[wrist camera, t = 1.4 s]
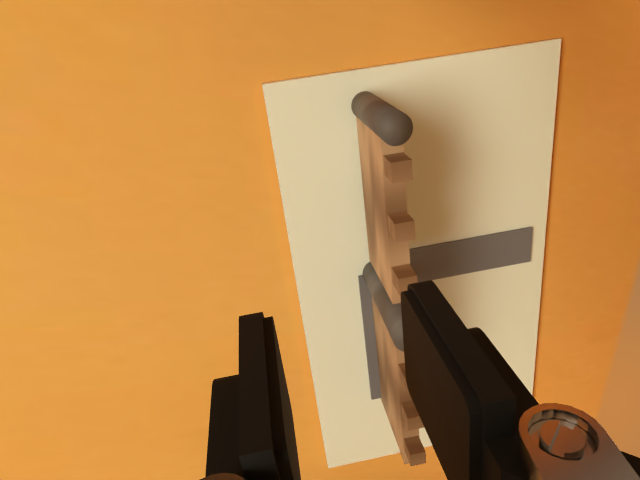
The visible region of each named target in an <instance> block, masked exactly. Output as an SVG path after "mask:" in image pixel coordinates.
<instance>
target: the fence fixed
mask: <svg viewBox="0 0 640 480" xmlns="http://www.w3.org/2000/svg"><path fill="white" fill-rule="evenodd" d="M362 274H363V278H364V280H365V283H366V285H367V287H368V289H369V291H370V293H371V295H372V305H373V316H374V326H375V337H376V347H377V358H378V368H379V379H380V389H381V401H382V403H383V406H384V409H385V412H386V414H387V417H388V420H389V423H390V425H391V428H392V431H393V434H394V436H395V439H396V442H397V445H398V447H399V450H400V453H401V455H402V458H403V461H404V464H408V463H410V466H414V465H418V464H423V463H426V454H425V450H424V447H423V445H422V443H421V440H420V438H419V428H424V425H423V423H422V421H421V419H420V416H419V414H418V412H417V410H416V407H415V405H414V403H413V401H412V398H411V396H410V394H409V391H408V387H407V383H406V374H405V358H404V343H403V328H402V312H401V303H397V304H392V302H391V300H390V298H389V296H388V294H387V292H386V290H385V288H384V286H383V284H382V283H381V281H380V279H379V277H378V275H377V273H376V271H375V269H374V267H373V265H372V263H371V262H368V263H367V264H366V265H365V267H364V269H363V273H362Z"/></svg>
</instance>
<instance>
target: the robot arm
mask: <svg viewBox="0 0 640 480" xmlns="http://www.w3.org/2000/svg"><path fill="white" fill-rule="evenodd" d="M401 312H402V328H403V343H404V358H405V374H406V383H407V387H408V391H409V394H410V396H411V398H412V401H413V403H414V405H415V407H416V410H417V412H418V414H419V416H420V419H421V421H422V423H423V425H424V428H425V430H426V432H427V434H428V437H429V439H430V441H431V443H432V445H433V448H434V450H435V452H436V454H437V457H438V459H439V461H440V463H441V466H442V468H443V470H444V472H445V475H446V477H447V479H448V480H640V458H638V457H636V456H633V455H630V454H627V453H625V452H622V451H620V450H619V449H618V447H617V446H616V445H615V443H614V442H613V441H612V439H611V438H610V437H609V435H608V434H607V432H606V431H605V430H604V428H603V427H602V426H601V425H600V424H599V423H598V422H597V421H596V420H595V419H594V418H593V417H591V416H590V415H588V414H586V413H585V412H583V411H581V410H579V409H576V408H574V407H571V406H568V405H563V404H558V403H544V404H540V405H539V404H538V402H537V401H536V400H535V398H534V397H533V396H532V395H531V393H530V392H529V391H528V389H527V388H526V387H525V385H524V384H523V383H522V381H521V380H520V379H519V378H518V376H517V375H516V374H515V372H514V371H513V370H512V368H511V367H510V366H509V364H508V363H507V362H506V360H505V359H504V358H503V357H502V355H501V354H500V353H499V351H498V350H497V349H496V347H495V346H494V345H493V343H492V342H491V341H490V339H489V338H488V337H487V336H486V334H485V333H484V332H483V331H482V330H481V329H480V328H478V327H474V328H469V329H467V327H466V326H465V325H464V323H463V322H462V321H461V319H460V318H459V316H458V315H457V314H456V312H455V311H454V309H453V308H452V307H451V305H450V304H449V302H448V301H447V300H446V298H445V297H444V296H443V294H442V293H441V291H440V290H439V289H438V287H437V286H436V284H435V283H434V282H433V281H432V280H428V281H423V282H417V283H412V284H409V285H408V287H407V291H402V292H401ZM200 480H301V476H300V469H299V461H298V454H297V446H296V438H295V431H294V423H293V416H292V410H291V404H290V399H289V394H288V389H287V384H286V379H285V374H284V369H283V365H282V360H281V355H280V350H279V345H278V340H277V335H276V330H275V325H274V320H273V317H266V318H264V315H263V312H259V313H254V314H249V315H244V316H239V374H238V375H233V376H228V377H223V378H218V379H214V380H213V384H212V395H211V409H210V422H209V436H208V450H207V464H206V477H205V478H203V479H200Z"/></svg>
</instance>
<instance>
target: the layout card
mask: <svg viewBox="0 0 640 480" xmlns="http://www.w3.org/2000/svg"><path fill="white" fill-rule="evenodd" d="M560 50H561V39H558V38H556V39H550V40H543V41H537V42H530V43H524V44H517V45H511V46H504V47H498V48H491V49H485V50H478V51H472V52H465V53H459V54H452V55H445V56H439V57H432V58H426V59H419V60H413V61H406V62H400V63H393V64H387V65H380V66H374V67H367V68H361V69H354V70H348V71H341V72H335V73H328V74H321V75H315V76H308V77H302V78H295V79H289V80H282V81H276V82H269V83H263V84H262V86H263V92H264V98H265V104H266V110H267V116H268V121H269V127H270V133H271V139H272V145H273V150H274V156H275V162H276V168H277V174H278V180H279V185H280V191H281V197H282V203H283V209H284V214H285V220H286V226H287V232H288V238H289V244H290V249H291V255H292V261H293V267H294V273H295V278H296V284H297V290H298V296H299V302H300V308H301V313H302V319H303V325H304V331H305V337H306V343H307V348H308V354H309V360H310V366H311V372H312V377H313V383H314V389H315V395H316V401H317V407H318V412H319V418H320V424H321V430H322V436H323V441H324V447H325V453H326V459H327V465H328V468H332V467H336V466H341V465H346V464H350V463H355V462H359V461H364V460H369V459H373V458H378V457H382V456H387V455H392V454H396V453H400V450H399V447H398V445H397V442H396V439H395V436H394V434H393V431H392V428H391V425H390V423H389V420H388V417H387V414H386V412H385V409H384V406H383V403H382V401H381V389H380V379H379V368H378V358H377V347H376V337H375V326H374V316H373V305H372V295H371V293H370V291H369V289H368V287H367V285H366V283H365V280H364V278H363V274H362V273H363V269H364V267H365V265H366V264H367V263H368V262H370V260H369V250H368V239H367V229H366V218H365V207H364V197H363V186H362V175H361V165H360V154H359V143H358V133H357V122H356V116H355V115H354V114H353V112H352V109H351V103H352V100H353V98H354V97H355V95H357V94H358V93H360V92H363V91H368V92H371V93H373V94H374V95H376V96H377V97H379V98H381V99H382V100H384V101H386V102H387V103H389V104H390V105H392V106H394V107H395V108H397V109H398V110H400V111H402V112H403V113H405V114H407V115H408V116H409V117H410V118H411V120H412V123H413V132H412V135H411V137H410V138H409V140H408V141H407V142H406V143H404V153H405V154H406V155H407V156H408V157H409V158H411V159H412V177H413V180H410V181H406V195H407V212H408V214H409V215H410V216H411V217H412V218H413V220H414V221H415V239H413V240H409V252H410V266H411V267H412V269H413V270H414V272H415V273H416V275H417V282H423V281H428V280H432V281H433V282H434V283H435V284H436V286H437V287H438V289H439V290H440V291H441V293H442V294H443V296H444V297H445V298H446V300H447V301H448V302H449V304H450V305H451V307H452V308H453V309H454V311H455V312H456V314H457V315H458V316H459V318H460V319H461V321H462V322H463V323H464V325H465V326H466V327H467V329H469V328H474V327H478V328H480V329H481V330H482V331H483V332H484V333H485V334H486V336H487V337H488V338H489V339H490V341H491V342H492V343H493V345H494V346H495V347H496V349H497V350H498V351H499V353H500V354H501V355H502V357H503V358H504V359H505V360H506V362H507V363H508V364H509V366H510V367H511V368H512V370H513V371H514V372H515V374H516V375H517V376H518V378H519V379H520V380H521V381H522V383H523V384H524V385H525V387H526V388H527V389H528V391H529V392H530V393H531V395H533V383H534V370H535V358H536V346H537V333H538V321H539V309H540V297H541V284H542V272H543V260H544V247H545V235H546V223H547V210H548V198H549V186H550V174H551V161H552V149H553V137H554V124H555V112H556V100H557V87H558V75H559V63H560ZM419 438H420V440H421V443H422V445H423V447H428V446H433V445H432V443H431V441H430V439H429V437H428V434H427V432H426V430H425V428H419Z"/></svg>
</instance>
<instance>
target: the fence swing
mask: <svg viewBox="0 0 640 480" xmlns="http://www.w3.org/2000/svg"><path fill="white" fill-rule="evenodd" d="M351 109H352V112H353V114H354V115H355V116H356V122H357V133H358V143H359V154H360V165H361V175H362V186H363V197H364V207H365V218H366V229H367V239H368V250H369V260H370V262H371V263H372V265H373V267H374V269H375V271H376V273H377V275H378V277H379V279H380V281H381V283H382V284H383V286H384V288H385V290H386V292H387V294H388V296H389V298H390V300H391V302H392V304H397V303H401V292H402V291H407V287H408V285H409V284H412V283H417V275H416V273H415V272H414V270H413V269H412V267H411V266H410V252H409V240H413V239H415V221H414V220H413V218H412V217H411V216H410V215H409V214H408V212H407V195H406V181H410V180H413V177H412V159H411V158H409V157H408V156H407V155H406V154H405V153H404V143H406V142H407V141H408V140H409V138H410V137H411V135H412V132H413V123H412V120H411V118H410V117H409V116H408V115H407V114H405V113H403V112H402V111H400V110H398V109H397V108H395V107H394V106H392V105H390V104H389V103H387V102H386V101H384V100H382V99H381V98H379V97H377V96H376V95H374V94H373V93H371V92H368V91H363V92H360V93H358V94H357V95H355V97H354V98H353V100H352V103H351Z"/></svg>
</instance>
